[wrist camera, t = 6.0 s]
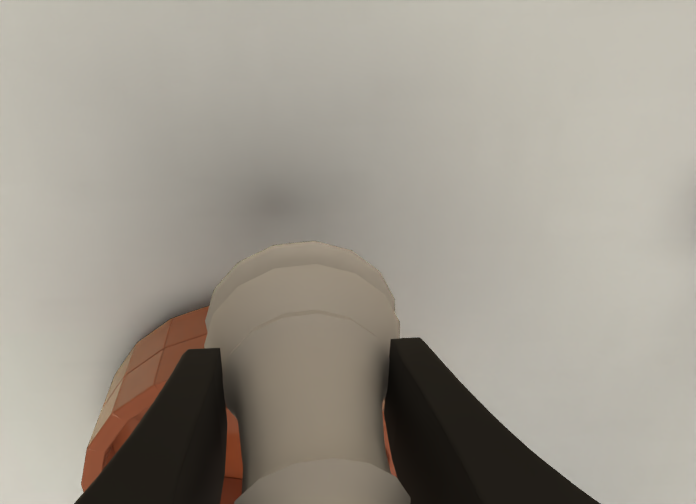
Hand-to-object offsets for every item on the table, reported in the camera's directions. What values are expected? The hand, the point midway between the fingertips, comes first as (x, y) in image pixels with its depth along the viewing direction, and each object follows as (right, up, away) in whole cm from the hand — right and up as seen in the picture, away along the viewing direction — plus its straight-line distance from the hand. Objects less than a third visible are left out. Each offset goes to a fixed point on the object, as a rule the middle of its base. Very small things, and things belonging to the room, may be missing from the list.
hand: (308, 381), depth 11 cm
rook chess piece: (0, +1, +2) cm, 3 cm away
